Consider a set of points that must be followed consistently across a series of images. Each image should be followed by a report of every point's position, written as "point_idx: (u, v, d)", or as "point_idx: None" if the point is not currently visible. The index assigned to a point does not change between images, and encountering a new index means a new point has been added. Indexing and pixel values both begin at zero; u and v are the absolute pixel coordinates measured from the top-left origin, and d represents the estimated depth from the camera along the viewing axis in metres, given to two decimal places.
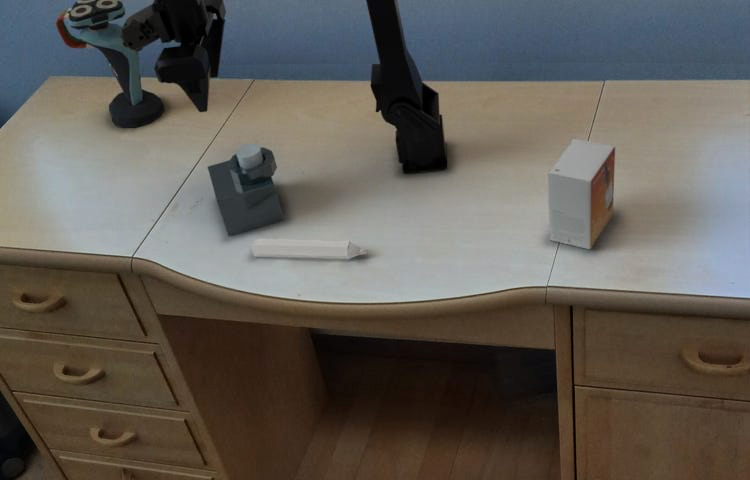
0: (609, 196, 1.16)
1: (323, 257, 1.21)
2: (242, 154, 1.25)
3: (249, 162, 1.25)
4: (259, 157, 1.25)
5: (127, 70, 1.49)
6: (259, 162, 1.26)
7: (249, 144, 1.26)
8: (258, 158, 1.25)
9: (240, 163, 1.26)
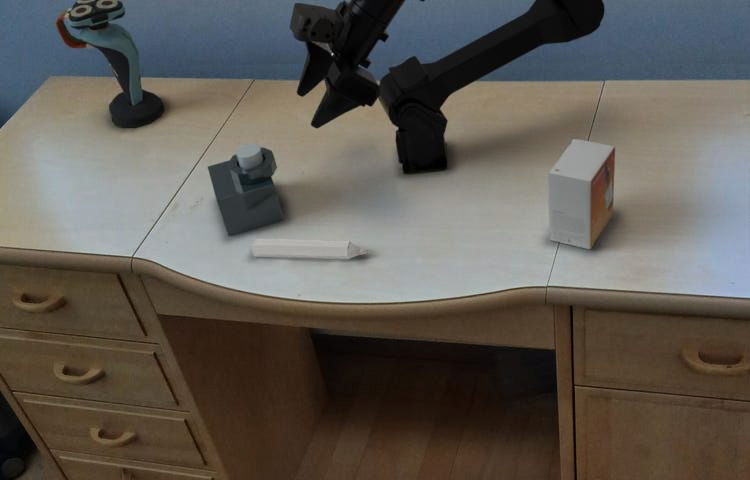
0: (609, 196, 1.16)
1: (323, 257, 1.21)
2: (242, 154, 1.25)
3: (249, 162, 1.25)
4: (259, 157, 1.25)
5: (127, 70, 1.49)
6: (259, 162, 1.26)
7: (249, 144, 1.26)
8: (258, 158, 1.25)
9: (240, 163, 1.26)
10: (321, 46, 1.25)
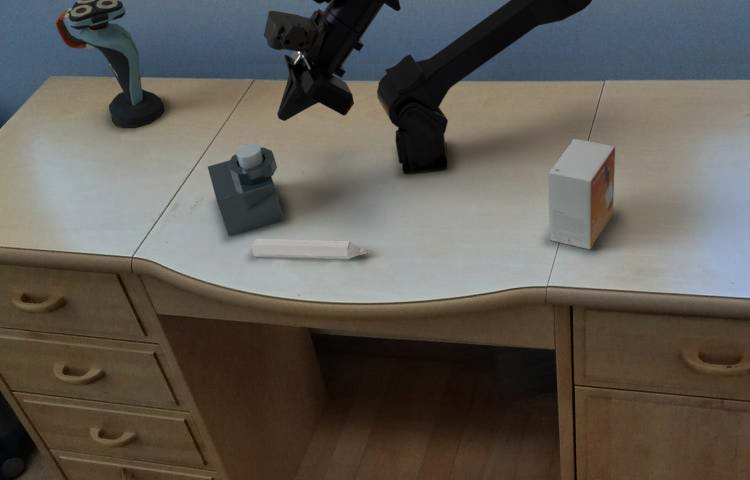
0: (609, 196, 1.16)
1: (323, 257, 1.21)
2: (242, 154, 1.25)
3: (249, 162, 1.25)
4: (259, 157, 1.25)
5: (127, 70, 1.49)
6: (259, 162, 1.26)
7: (249, 144, 1.26)
8: (258, 158, 1.25)
9: (240, 163, 1.26)
10: (303, 68, 1.21)
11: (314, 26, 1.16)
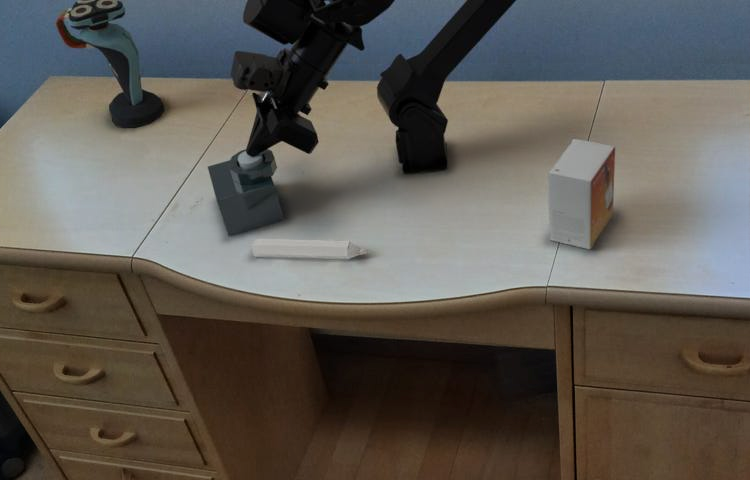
0: (609, 196, 1.16)
1: (323, 257, 1.21)
2: (244, 160, 1.26)
3: None
4: (260, 163, 1.26)
5: (127, 70, 1.49)
6: None
7: None
8: (260, 164, 1.26)
9: None
10: (270, 105, 1.23)
11: (279, 66, 1.18)
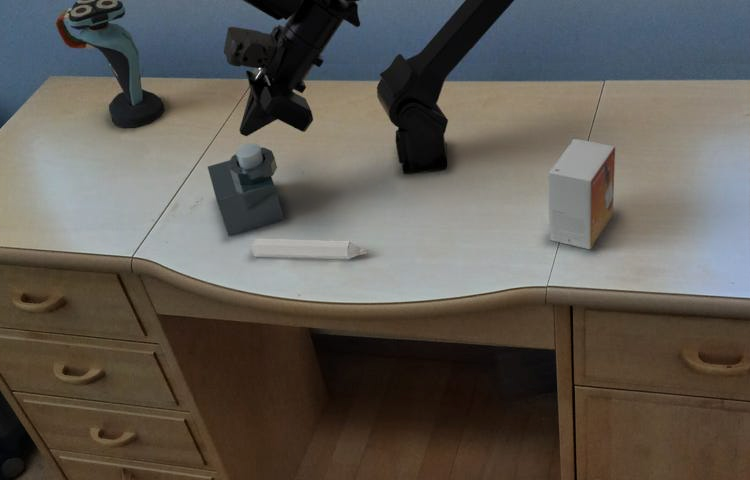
0: (609, 196, 1.16)
1: (323, 257, 1.21)
2: (242, 154, 1.25)
3: (249, 162, 1.25)
4: (259, 157, 1.25)
5: (127, 70, 1.49)
6: (259, 162, 1.26)
7: (249, 144, 1.26)
8: (258, 158, 1.25)
9: (240, 163, 1.26)
10: (264, 84, 1.21)
11: (273, 42, 1.16)
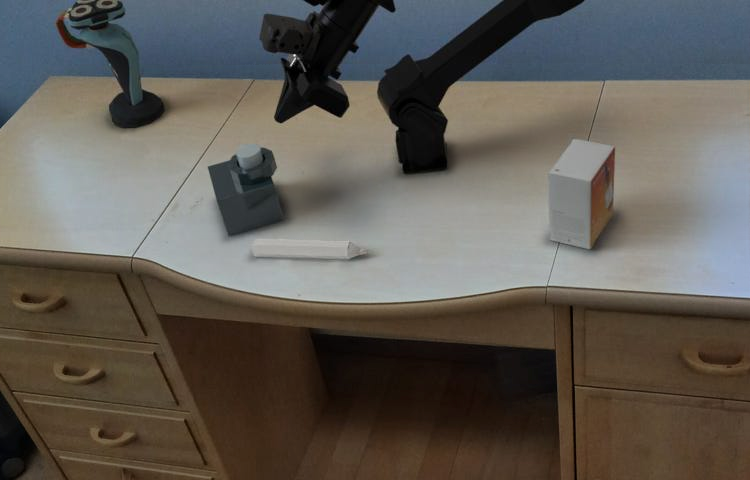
0: (609, 196, 1.16)
1: (323, 257, 1.21)
2: (242, 154, 1.25)
3: (249, 162, 1.25)
4: (259, 157, 1.25)
5: (127, 70, 1.49)
6: (259, 162, 1.26)
7: (249, 144, 1.26)
8: (258, 158, 1.25)
9: (240, 163, 1.26)
10: (299, 70, 1.21)
11: (309, 29, 1.16)
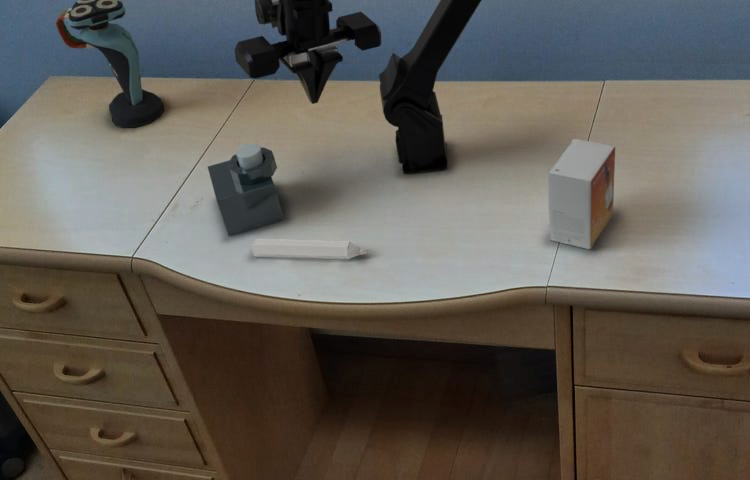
0: (609, 196, 1.16)
1: (323, 257, 1.21)
2: (242, 154, 1.25)
3: (249, 162, 1.25)
4: (259, 157, 1.25)
5: (127, 70, 1.49)
6: (259, 162, 1.26)
7: (249, 144, 1.26)
8: (258, 158, 1.25)
9: (240, 163, 1.26)
10: (315, 49, 1.23)
11: None
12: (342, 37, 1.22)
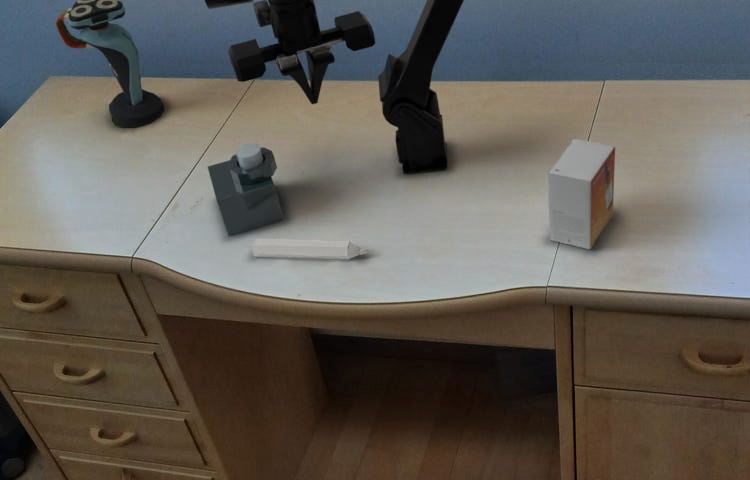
0: (609, 196, 1.16)
1: (323, 257, 1.21)
2: (242, 154, 1.25)
3: (249, 162, 1.25)
4: (259, 157, 1.25)
5: (127, 70, 1.49)
6: (259, 162, 1.26)
7: (249, 144, 1.26)
8: (258, 158, 1.25)
9: (240, 163, 1.26)
10: None
11: None
12: (334, 38, 1.21)
